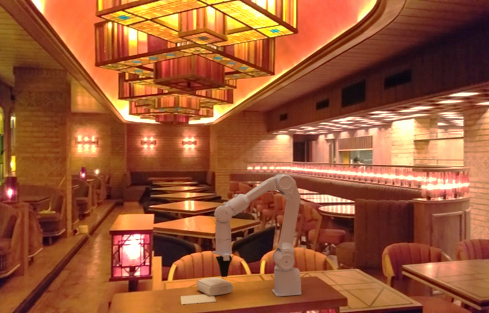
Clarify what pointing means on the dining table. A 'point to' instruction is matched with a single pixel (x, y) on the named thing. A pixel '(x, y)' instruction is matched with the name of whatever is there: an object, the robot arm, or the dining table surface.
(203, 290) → the photo printer
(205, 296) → the mat
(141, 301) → the dining table surface
